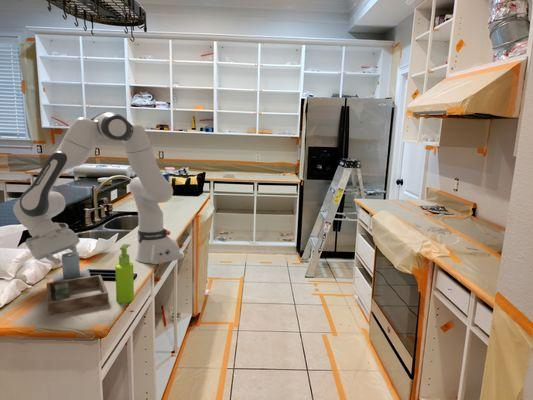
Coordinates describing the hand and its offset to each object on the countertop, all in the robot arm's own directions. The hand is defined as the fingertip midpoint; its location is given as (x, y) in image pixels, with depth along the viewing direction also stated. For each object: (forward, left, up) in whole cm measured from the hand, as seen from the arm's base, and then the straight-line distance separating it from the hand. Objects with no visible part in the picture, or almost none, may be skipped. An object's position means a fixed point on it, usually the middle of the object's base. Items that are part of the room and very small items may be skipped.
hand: (68, 259), depth 142 cm
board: (-1, +1, -8) cm, 9 cm away
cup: (-1, +1, -7) cm, 7 cm away
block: (+3, +15, -9) cm, 18 cm away
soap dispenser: (-16, +27, -9) cm, 33 cm away
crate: (-1, +19, -8) cm, 21 cm away
